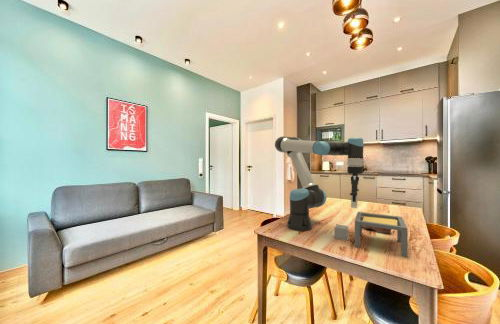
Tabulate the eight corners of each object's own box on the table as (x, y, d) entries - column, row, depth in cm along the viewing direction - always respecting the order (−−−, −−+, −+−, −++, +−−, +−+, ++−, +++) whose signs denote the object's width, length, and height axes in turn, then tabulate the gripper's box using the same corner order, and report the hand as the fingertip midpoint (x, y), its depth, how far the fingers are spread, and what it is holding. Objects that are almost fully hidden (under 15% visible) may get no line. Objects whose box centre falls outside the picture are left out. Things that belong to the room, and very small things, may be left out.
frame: (354, 246, 95) (354, 220, 95) (357, 233, 111) (357, 211, 111) (407, 257, 84) (407, 228, 84) (402, 241, 101) (402, 216, 101)
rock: (354, 210, 126) (380, 207, 123) (357, 227, 126) (382, 224, 124) (364, 219, 111) (393, 216, 108) (367, 238, 111) (396, 235, 109)
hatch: (362, 225, 95) (362, 223, 95) (363, 218, 107) (363, 216, 107) (398, 229, 88) (398, 227, 88) (395, 221, 100) (395, 219, 100)
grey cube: (334, 238, 105) (334, 227, 105) (336, 234, 110) (336, 224, 110) (347, 240, 102) (347, 229, 102) (348, 237, 107) (348, 226, 107)
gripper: (363, 167, 94) (362, 211, 94) (362, 165, 116) (362, 201, 116) (345, 167, 98) (345, 209, 98) (348, 165, 119) (348, 199, 120)
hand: (354, 205), depth 107 cm, fingers open, 13 cm apart
